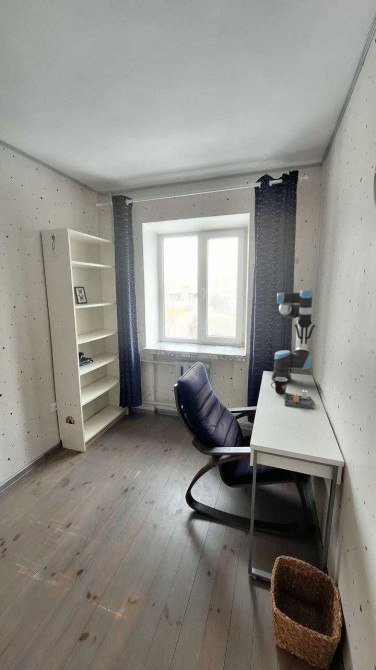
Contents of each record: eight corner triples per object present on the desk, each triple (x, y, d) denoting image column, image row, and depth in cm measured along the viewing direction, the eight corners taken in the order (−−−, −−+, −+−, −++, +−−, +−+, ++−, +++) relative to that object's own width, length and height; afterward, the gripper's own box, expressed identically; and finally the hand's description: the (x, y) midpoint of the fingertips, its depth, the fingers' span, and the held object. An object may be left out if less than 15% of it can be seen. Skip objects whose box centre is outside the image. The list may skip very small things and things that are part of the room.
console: (285, 396, 185) (285, 392, 184) (311, 399, 179) (311, 395, 179) (284, 405, 172) (284, 401, 172) (312, 409, 167) (312, 404, 166)
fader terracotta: (293, 399, 175) (293, 392, 174) (298, 400, 174) (298, 393, 173) (293, 401, 172) (293, 394, 171) (298, 402, 171) (298, 395, 170)
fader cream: (301, 396, 179) (302, 389, 178) (306, 396, 178) (307, 389, 177) (301, 398, 176) (302, 391, 175) (306, 398, 175) (307, 391, 174)
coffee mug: (285, 390, 196) (285, 377, 194) (288, 395, 188) (288, 381, 186) (268, 390, 197) (269, 377, 195) (271, 394, 189) (271, 381, 187)
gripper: (294, 314, 178) (293, 349, 182) (316, 314, 173) (314, 350, 178) (294, 313, 185) (293, 346, 189) (315, 313, 180) (313, 347, 184)
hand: (303, 348), depth 183 cm, fingers closed
